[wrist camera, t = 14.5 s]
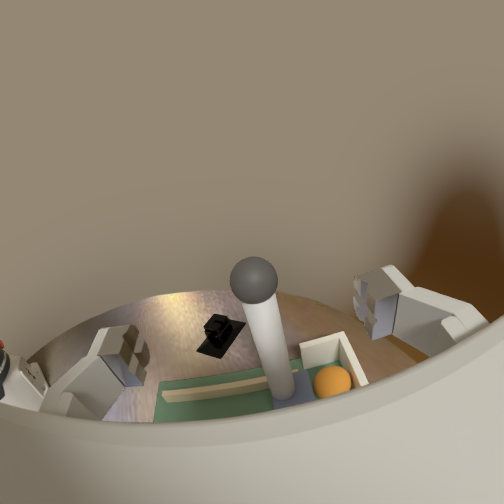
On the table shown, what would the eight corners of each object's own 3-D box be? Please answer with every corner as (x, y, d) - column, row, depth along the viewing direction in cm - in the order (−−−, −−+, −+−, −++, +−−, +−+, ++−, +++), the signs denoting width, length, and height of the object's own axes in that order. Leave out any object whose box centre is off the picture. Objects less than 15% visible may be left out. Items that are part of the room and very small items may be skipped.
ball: (353, 386, 32) (319, 400, 33) (341, 356, 34) (307, 370, 34) (358, 398, 28) (321, 413, 28) (346, 364, 29) (307, 380, 29)
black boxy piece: (220, 368, 42) (212, 350, 40) (188, 357, 46) (178, 340, 44) (254, 320, 51) (248, 302, 49) (223, 314, 55) (216, 297, 53)
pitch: (149, 467, 26) (147, 466, 26) (161, 383, 40) (159, 382, 40) (383, 430, 25) (383, 428, 25) (346, 346, 39) (346, 344, 39)
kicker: (274, 421, 30) (224, 282, 20) (269, 392, 34) (224, 252, 24) (316, 411, 30) (298, 265, 20) (308, 383, 34) (285, 237, 24)
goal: (160, 457, 27) (142, 444, 25) (169, 387, 38) (155, 369, 36) (372, 422, 26) (378, 404, 24) (343, 353, 38) (343, 331, 36)
